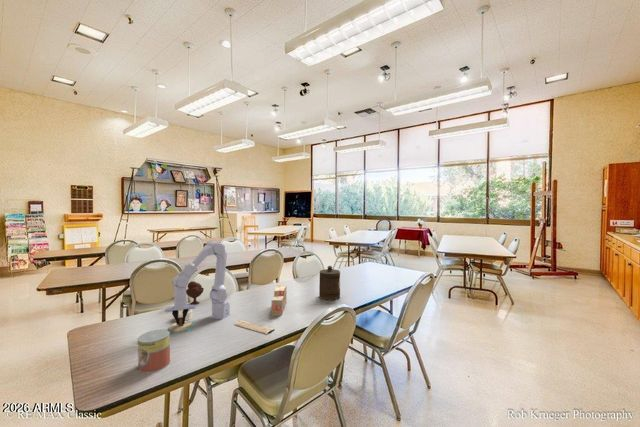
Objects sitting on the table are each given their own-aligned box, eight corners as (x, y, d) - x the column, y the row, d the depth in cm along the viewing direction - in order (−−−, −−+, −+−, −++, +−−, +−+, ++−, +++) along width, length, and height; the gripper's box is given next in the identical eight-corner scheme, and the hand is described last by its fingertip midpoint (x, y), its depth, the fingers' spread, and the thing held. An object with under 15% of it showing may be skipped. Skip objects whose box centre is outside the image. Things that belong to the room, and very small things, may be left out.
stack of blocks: (281, 315, 168) (281, 295, 167) (271, 315, 168) (271, 295, 167) (286, 303, 189) (286, 285, 189) (277, 303, 189) (277, 285, 189)
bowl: (195, 316, 166) (195, 309, 166) (185, 323, 157) (185, 315, 157) (182, 315, 168) (182, 308, 168) (171, 321, 159) (171, 313, 159)
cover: (196, 324, 154) (196, 314, 154) (182, 332, 144) (182, 323, 143) (179, 322, 157) (179, 313, 157) (164, 330, 146) (163, 321, 146)
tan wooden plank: (233, 326, 155) (233, 323, 155) (243, 321, 161) (243, 318, 161) (267, 336, 143) (267, 332, 143) (276, 330, 149) (276, 327, 149)
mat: (194, 322, 158) (194, 321, 158) (191, 331, 146) (191, 330, 146) (170, 325, 154) (170, 324, 154) (165, 334, 143) (165, 333, 143)
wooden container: (344, 297, 201) (344, 266, 200) (327, 301, 193) (327, 269, 192) (331, 292, 213) (331, 263, 213) (315, 295, 205) (315, 265, 204)
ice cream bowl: (197, 307, 182) (197, 283, 182) (182, 305, 184) (181, 282, 184) (207, 301, 192) (206, 279, 192) (192, 300, 195) (192, 278, 194)
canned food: (131, 369, 113) (130, 339, 112) (156, 355, 123) (156, 328, 123) (152, 375, 109) (151, 344, 108) (176, 360, 119) (176, 332, 119)
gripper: (196, 294, 156) (196, 319, 156) (166, 297, 151) (166, 322, 152) (194, 298, 149) (195, 324, 150) (163, 301, 145) (164, 328, 145)
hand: (180, 323), depth 150 cm, fingers closed on cover, 2 cm apart
